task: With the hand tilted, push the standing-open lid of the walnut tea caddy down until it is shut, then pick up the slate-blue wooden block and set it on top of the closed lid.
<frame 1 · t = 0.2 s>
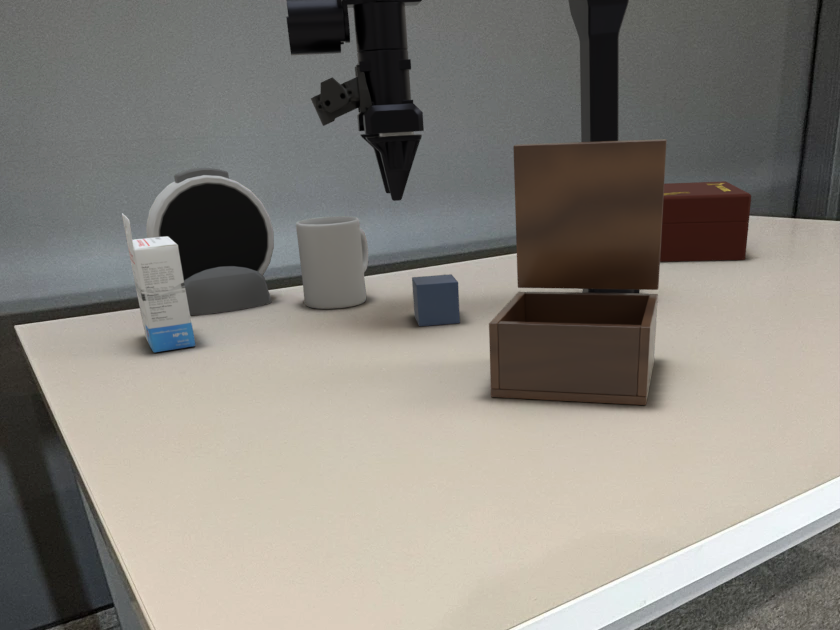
hand: (393, 196, 95), 15 cm above the table, tool pointing down, fingers open, 9 cm apart
box: (682, 251, 135), on the table
lid: (587, 218, 74), point 14 cm above the table, hinge at 85.0°
caddy: (576, 378, 75), on the table
ink box: (170, 343, 94), on the table
mug: (343, 300, 112), on the table
alarm clock: (222, 305, 112), on the table
block: (436, 320, 98), on the table
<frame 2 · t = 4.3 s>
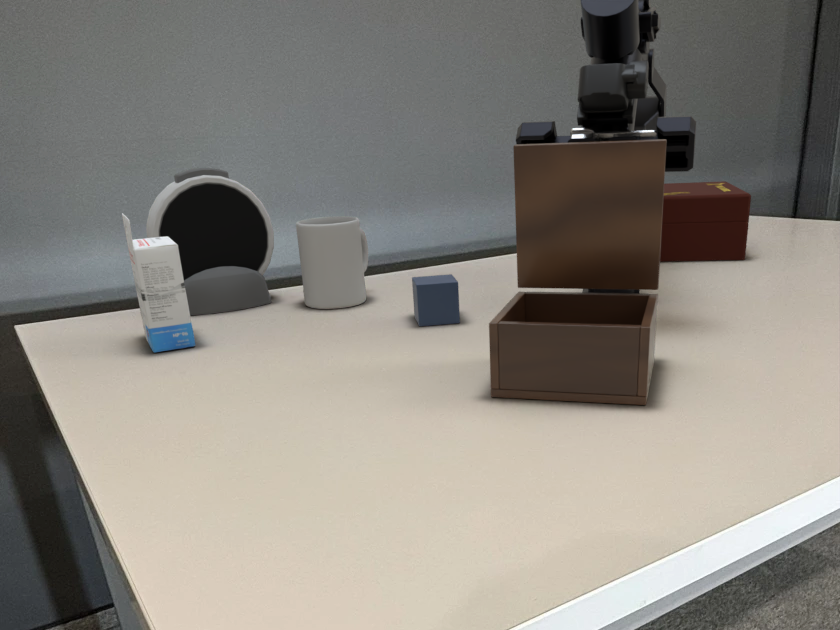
hand: (596, 210, 83), 13 cm above the table, tool tilted 45°, fingers closed
nothing on the table moved.
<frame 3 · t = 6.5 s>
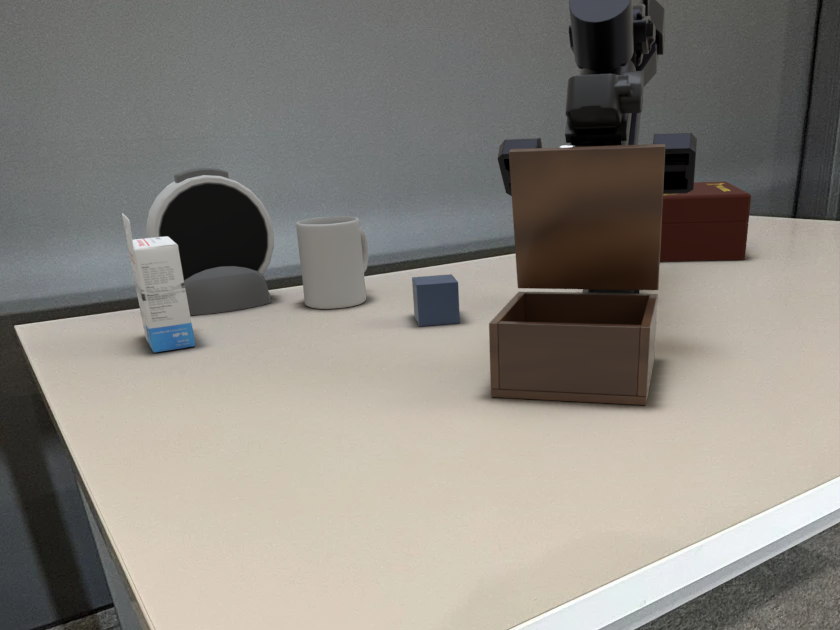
hand: (587, 236, 75), 12 cm above the table, tool tilted 45°, fingers closed, pressing on lid
lid: (586, 221, 74), point 14 cm above the table, hinge at 76.1°, touching gripper
everything else where it was.
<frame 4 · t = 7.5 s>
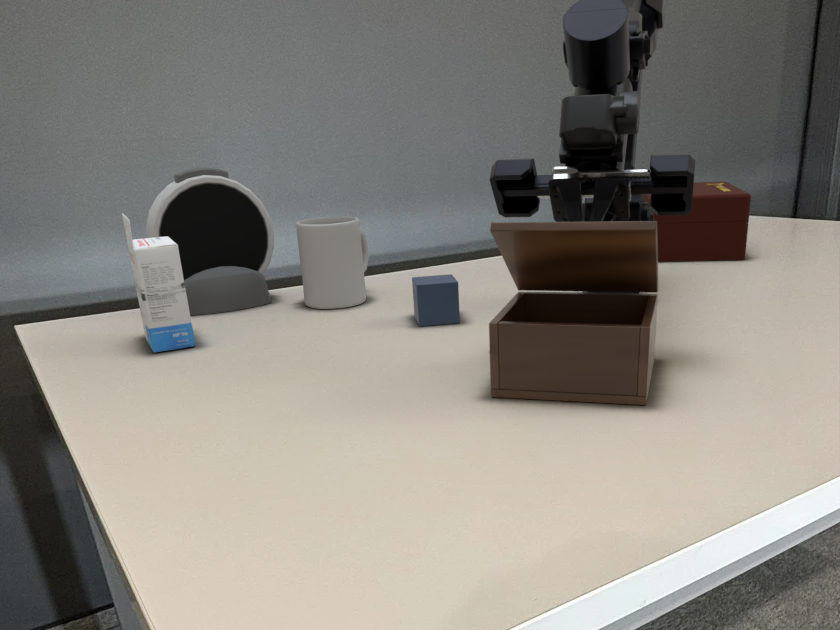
hand: (581, 261, 73), 11 cm above the table, tool tilted 45°, fingers closed, pressing on lid
lid: (579, 259, 71), point 11 cm above the table, hinge at 33.8°, touching gripper
everything else where it was.
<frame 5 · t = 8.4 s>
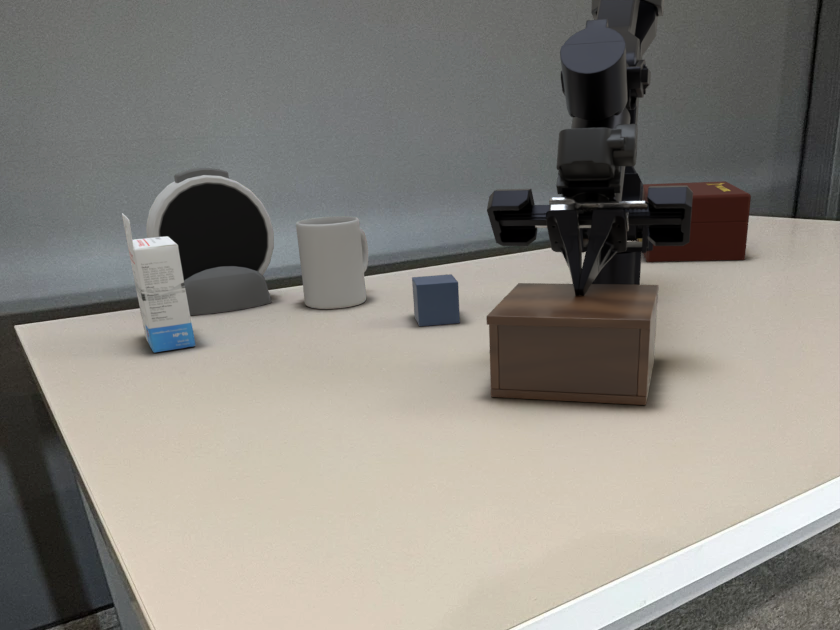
hand: (579, 293, 73), 8 cm above the table, tool tilted 45°, fingers closed, pressing on lid
lid: (577, 303, 72), point 7 cm above the table, hinge at 0.0°, touching gripper
everything else where it was.
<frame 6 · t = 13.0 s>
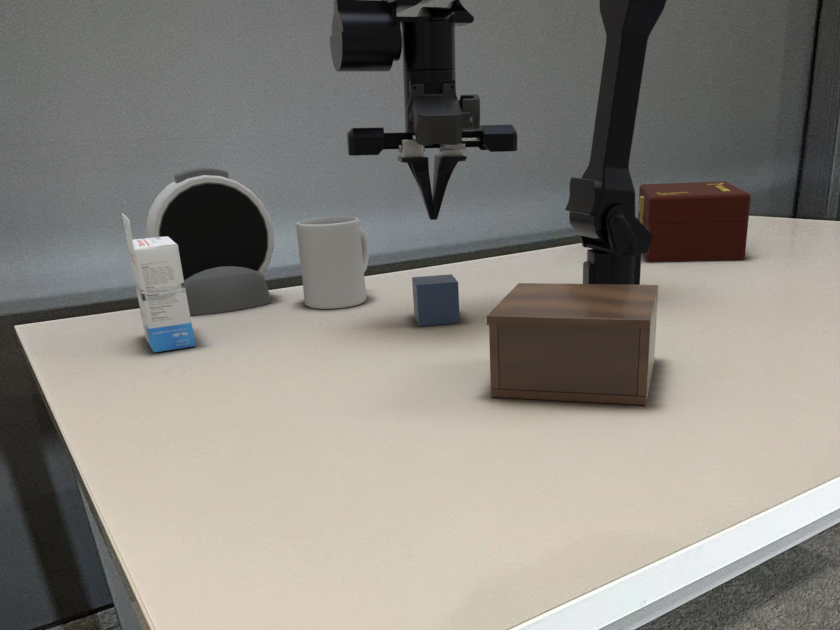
hand: (433, 219, 93), 12 cm above the table, tool pointing down, fingers closed
lid: (577, 303, 72), point 7 cm above the table, hinge at -0.1°
everything else where it was.
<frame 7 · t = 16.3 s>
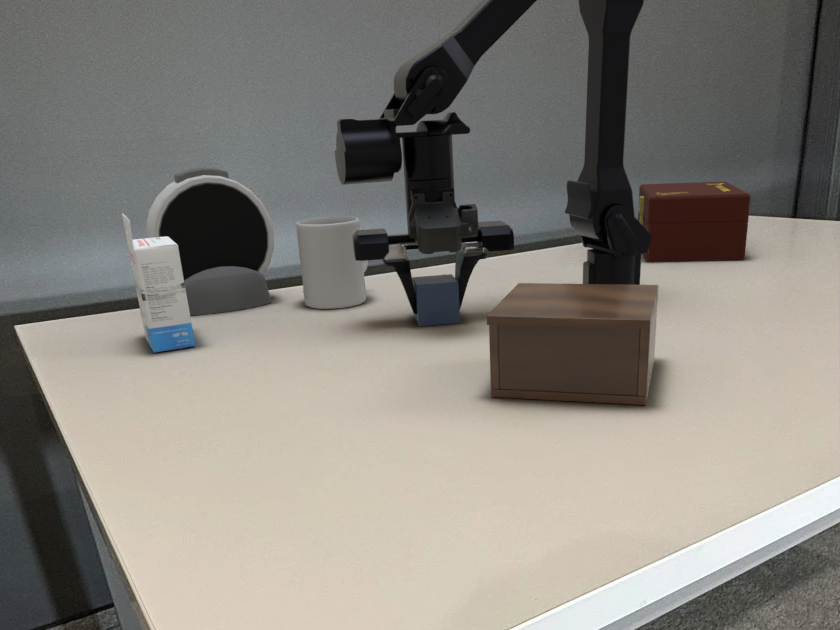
hand: (436, 311, 98), 1 cm above the table, tool pointing down, fingers closed on block, 5 cm apart
block: (436, 319, 98), on the table, touching gripper
everything else where it was.
when the fingers open (9 cm above the table, at t = 21.1 s): block stays where it is, resting on lid.
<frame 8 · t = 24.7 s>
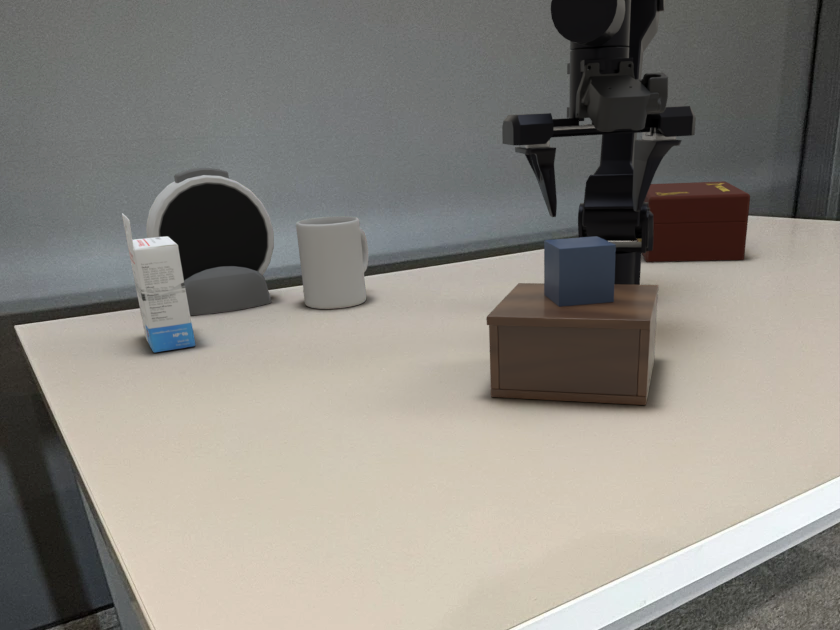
hand: (595, 213, 84), 13 cm above the table, tool pointing down, fingers open, 9 cm apart
lid: (577, 304, 72), point 7 cm above the table, hinge at -0.2°, touching block, caddy
block: (578, 298, 72), point 8 cm above the table, touching lid
everything else where it was.
at the end: lid at +0° (first picture: +85°); block inside the target area on the caddy (0.1 cm from its centre), point 7.6 cm above the caddy's base; block tilted 0° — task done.
